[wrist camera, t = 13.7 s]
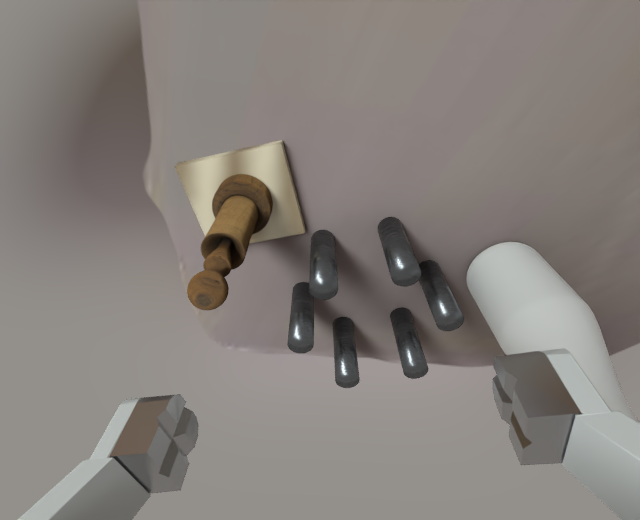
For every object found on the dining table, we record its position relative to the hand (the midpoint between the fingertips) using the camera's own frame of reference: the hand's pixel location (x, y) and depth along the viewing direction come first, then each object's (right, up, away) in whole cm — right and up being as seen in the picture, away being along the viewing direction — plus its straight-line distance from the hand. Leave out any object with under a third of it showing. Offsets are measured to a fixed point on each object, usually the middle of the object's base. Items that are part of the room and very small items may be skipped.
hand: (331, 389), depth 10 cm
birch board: (-9, +11, +34) cm, 37 cm away
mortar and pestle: (-9, +10, +33) cm, 36 cm away
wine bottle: (+24, +2, +40) cm, 46 cm away
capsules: (+6, +1, +40) cm, 41 cm away
